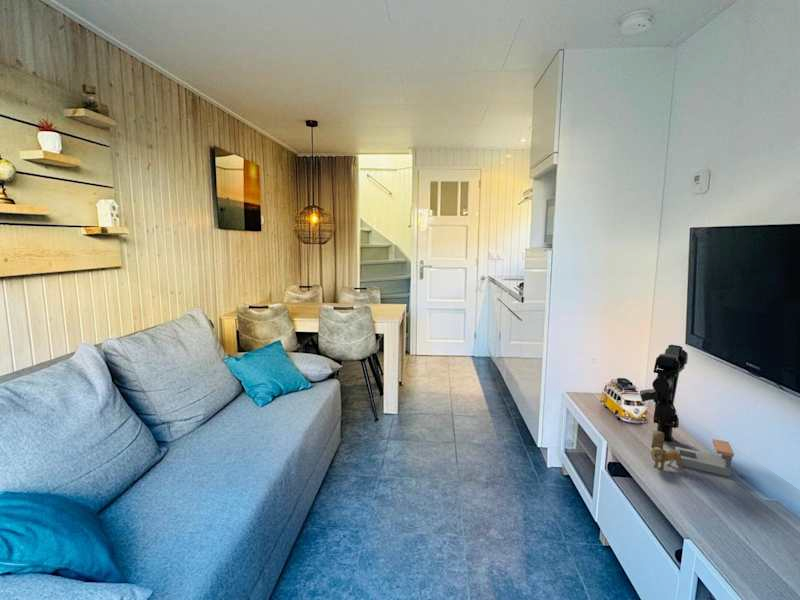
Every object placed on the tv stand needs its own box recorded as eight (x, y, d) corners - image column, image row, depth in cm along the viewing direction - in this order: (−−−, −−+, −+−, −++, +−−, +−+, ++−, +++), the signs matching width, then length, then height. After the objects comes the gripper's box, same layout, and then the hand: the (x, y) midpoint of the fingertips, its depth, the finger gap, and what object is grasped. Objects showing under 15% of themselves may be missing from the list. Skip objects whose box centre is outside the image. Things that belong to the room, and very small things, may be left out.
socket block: (674, 453, 175) (675, 446, 174) (725, 464, 166) (726, 457, 166) (676, 464, 166) (677, 457, 165) (730, 476, 158) (731, 469, 157)
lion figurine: (657, 474, 158) (659, 451, 157) (645, 467, 163) (647, 445, 162) (686, 468, 163) (689, 446, 161) (674, 461, 168) (676, 440, 167)
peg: (651, 445, 181) (653, 430, 180) (662, 448, 179) (664, 432, 178) (651, 449, 178) (653, 433, 177) (662, 452, 176) (664, 435, 175)
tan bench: (709, 460, 169) (712, 438, 168) (725, 464, 167) (728, 442, 166) (714, 473, 160) (717, 450, 158) (730, 477, 157) (734, 454, 156)
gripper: (641, 376, 186) (637, 410, 188) (642, 389, 170) (638, 426, 172) (671, 380, 181) (667, 415, 183) (675, 394, 164) (671, 432, 167)
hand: (660, 422), depth 176 cm, fingers open, 9 cm apart
